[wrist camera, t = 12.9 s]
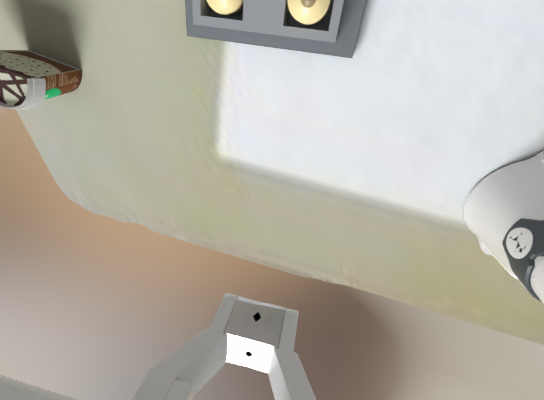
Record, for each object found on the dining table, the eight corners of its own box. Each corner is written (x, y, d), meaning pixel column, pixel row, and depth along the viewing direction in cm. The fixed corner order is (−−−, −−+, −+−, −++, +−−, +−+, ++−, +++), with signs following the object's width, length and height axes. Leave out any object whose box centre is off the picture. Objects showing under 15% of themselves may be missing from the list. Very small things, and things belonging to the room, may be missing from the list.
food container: (28, 85, 47) (-39, 95, 39) (20, 47, 44) (-55, 48, 35) (93, 109, 47) (39, 124, 38) (90, 72, 44) (31, 80, 35)
